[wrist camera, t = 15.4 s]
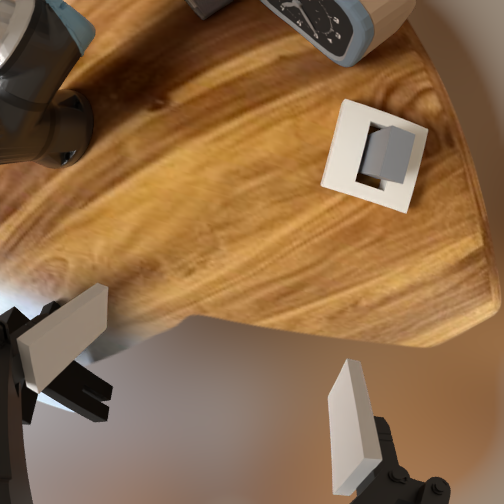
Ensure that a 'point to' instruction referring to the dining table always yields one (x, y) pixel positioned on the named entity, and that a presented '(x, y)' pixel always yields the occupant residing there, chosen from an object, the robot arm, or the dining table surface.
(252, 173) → the dining table surface
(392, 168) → the grey rectangular peg
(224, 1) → the camera
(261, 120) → the dining table surface
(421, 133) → the white flat frame block
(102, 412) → the toy
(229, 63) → the dining table surface
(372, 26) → the alarm clock
